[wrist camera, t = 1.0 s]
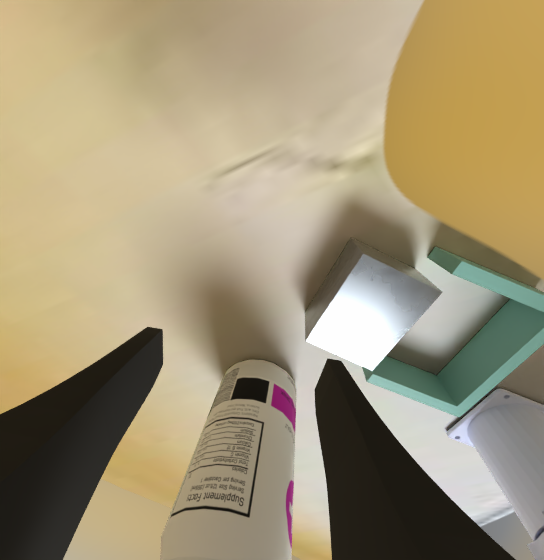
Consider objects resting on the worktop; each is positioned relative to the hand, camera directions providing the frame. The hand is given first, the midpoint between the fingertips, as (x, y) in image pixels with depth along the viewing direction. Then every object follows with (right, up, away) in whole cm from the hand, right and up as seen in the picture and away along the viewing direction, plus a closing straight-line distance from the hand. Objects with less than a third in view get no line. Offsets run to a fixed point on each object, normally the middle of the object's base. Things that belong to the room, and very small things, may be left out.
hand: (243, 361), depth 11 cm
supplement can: (0, -8, +17) cm, 19 cm away
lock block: (+9, +3, +11) cm, 14 cm away
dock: (+16, -1, +11) cm, 20 cm away
